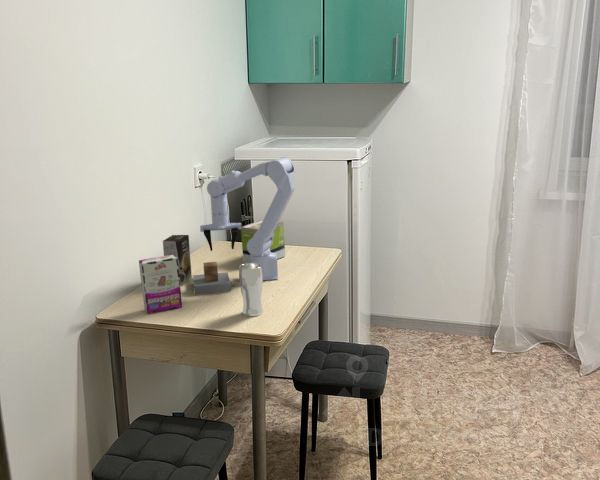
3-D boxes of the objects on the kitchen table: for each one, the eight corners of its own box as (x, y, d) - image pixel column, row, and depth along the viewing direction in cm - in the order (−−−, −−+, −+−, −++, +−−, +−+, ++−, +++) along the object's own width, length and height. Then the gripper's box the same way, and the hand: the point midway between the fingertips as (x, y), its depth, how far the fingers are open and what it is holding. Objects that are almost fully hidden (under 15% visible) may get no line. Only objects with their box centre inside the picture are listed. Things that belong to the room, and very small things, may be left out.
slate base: (228, 280, 209) (227, 272, 208) (230, 291, 198) (230, 283, 197) (193, 283, 207) (193, 275, 206) (194, 294, 196) (193, 286, 195)
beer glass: (241, 309, 182) (238, 263, 178) (263, 308, 182) (261, 261, 178) (241, 317, 175) (238, 270, 171) (264, 316, 176) (262, 268, 172)
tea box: (266, 253, 242) (264, 218, 238) (285, 256, 236) (284, 221, 232) (242, 262, 230) (240, 225, 226) (262, 266, 224) (260, 229, 220)
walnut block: (217, 276, 204) (216, 261, 202) (218, 280, 200) (217, 265, 198) (204, 278, 203) (203, 262, 202) (204, 282, 199) (203, 266, 197)
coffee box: (182, 285, 205) (179, 241, 201) (165, 285, 206) (161, 240, 202) (192, 277, 214) (189, 234, 209) (176, 276, 215) (172, 234, 211)
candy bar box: (178, 302, 189) (173, 253, 185) (182, 307, 185) (178, 257, 180) (143, 309, 184) (138, 259, 180) (147, 314, 180) (141, 263, 176)
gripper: (199, 216, 206) (202, 253, 209) (240, 213, 208) (242, 250, 211) (199, 212, 212) (201, 248, 216) (239, 209, 215) (241, 245, 218)
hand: (222, 249), depth 214 cm, fingers open, 7 cm apart
